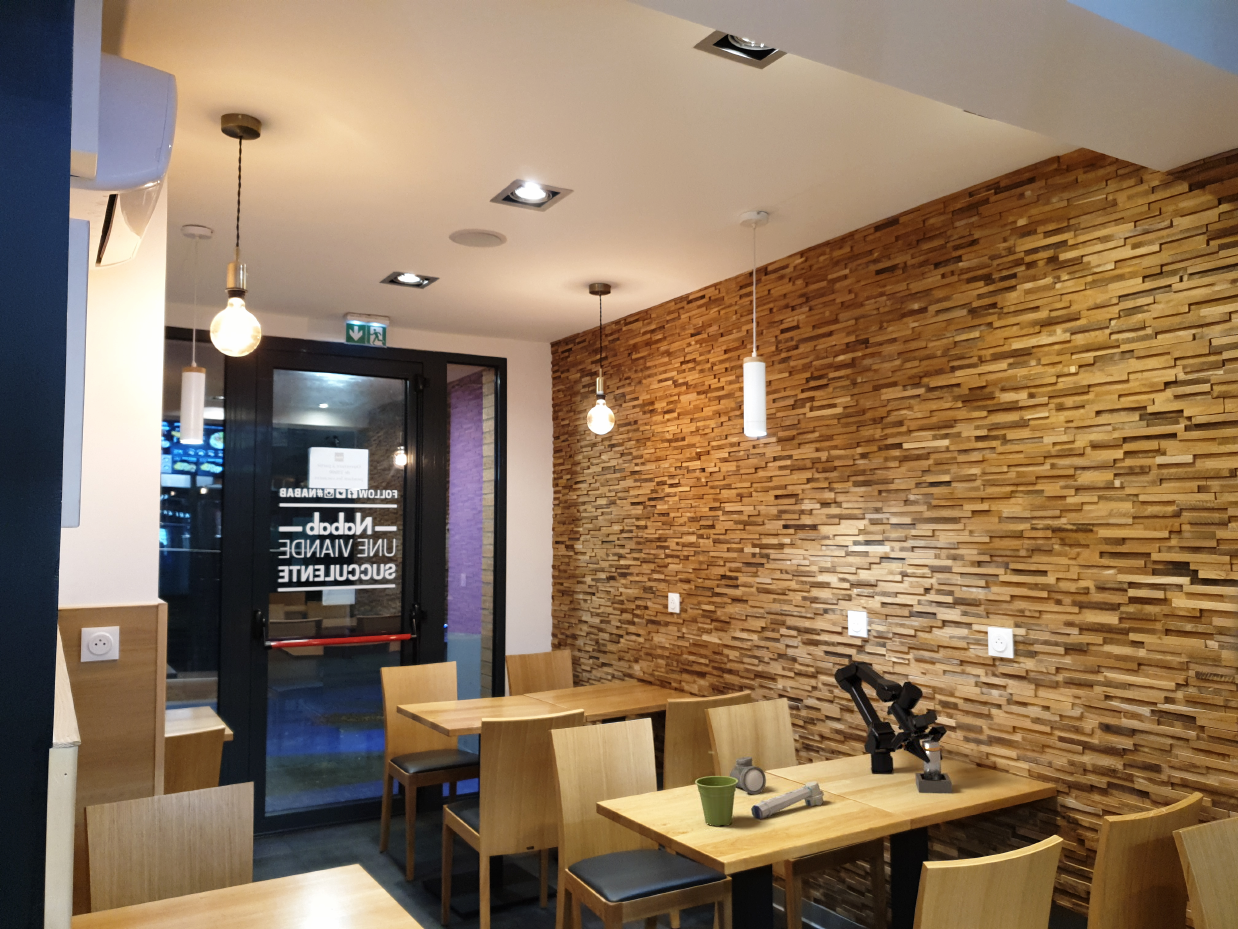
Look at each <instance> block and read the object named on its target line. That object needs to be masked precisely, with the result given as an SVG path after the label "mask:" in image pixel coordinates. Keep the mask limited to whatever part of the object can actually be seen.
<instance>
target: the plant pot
mask: <svg viewBox="0 0 1238 929" xmlns="http://www.w3.org/2000/svg"><path fill="white" fill-rule="evenodd" d="M694 783H695V785H696V786H697V790H698V792H699V797H700V801H701V806H702V811H703V816H704V821H705V823H706V824H707V823H708V824H711V825H710V826H713V825H715V826H714V827H720V826H728V825H731V824H732V822H733V814H734V813H733V812H734V802H735V801H734V800H735V792H736V788H737V787H736V784H737V783H738V780H737V779H736V778H733V777H729V776H725V775H724V776H722V775H711V776H710V775H709V776H703V777H699V778H697V779H695V782H694ZM708 824H707V825H708Z"/></svg>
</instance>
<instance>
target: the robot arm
mask: <svg viewBox="0 0 1238 929" xmlns="http://www.w3.org/2000/svg"><path fill="white" fill-rule="evenodd" d="M834 681H835V682H836V684H837V685H838V686H839V688H840V689H841V690H842V691H844V692H846V693H847V694H849V696H850V698H851V700H852V702H853V704H854V706H855V707H856V709H857V711H858V713H859V715H860V716H861V718H862V720H863V722H864V724H865V725H866V727H867V736H866V738H867V740H866V742H865V743H864V745H863V747H864V750H865V753H867V754H870V770H871V774H885V775H889V774H890V775H891V774H893V771H894V759H893V756H892V753H896V751H897V750H903V751H904V752H907V753H910V754H911V755H913V756H915V757H917V758H918V759H920V760H921V761H922V762H923V761H925V762H926V763H929V762H930V760H929V758H928V756H927V755H926V753H925V751H924V750H923V748H922V744H921V740H922V741H925V740H934V741H938V742H939V743H940V741H941V740H942V739H943V738H944V736H945V735H946V733H948V731H947V729H946V727H945V726H944V725H942V724H941V725H940V724H939V725H934V724H936V723H937V722H936V721H938V719H939V718H938V715H937V713H936V712H935V711H934V710H928V711H926V712H925V713H922V714H915V713H914V711H913V710H914V709H915V708H916V706H917V705H918V703H919V702H920V701H921V699H922V697H923V695H924V694H923V690H922V689H921V688H920V687H919V686H918V685H916V684H913V683H912V682H911V681H910V680H908V681H904V682H903V684H902V685H901V683H899V682H897V681H895V680H891V679H888V678H885V677H884V676H883V675H881V674H880V673H878V672H877V671H876V670H875V669H873V668H872V667H871V666H870V665H868V663H867V661H863V660H861V661H853V662H851V663H850V664H848V665H845V666H842V667H840V668H837V669H836V671H835V672H834ZM863 681H864V682H865V683H866V684H867V685H869V686H870V687H871V688H872V689H873V690H875V695H876V697H877V698H878V699H879V701H881V702H882V703H883V704H884V703H891V705H889V706H887V710H886V714H887V716H890V715H892V716H893V717H894V719H895V720H896V722H897V723H898V726H897V728H898V730H899V732H897V734H896V733H895V732H896V730H895V729H894V728H893V726H892V725H891V723H890V721H882V719H881V717H879V715H878V712H877V711H876V710H875V707H874V706H873V704H872V702H871V699H870V698H869V697H868V695H867V693H866V691H865V690H864V688H863ZM930 725H934V726H932V727H931V728H930V727H929V726H930ZM929 728H930V729H929ZM928 729H929V730H928ZM927 730H928V731H927ZM903 744H904V748H903ZM943 759H944V758H943V754H942V752H941V750H940V761H943Z"/></svg>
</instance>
